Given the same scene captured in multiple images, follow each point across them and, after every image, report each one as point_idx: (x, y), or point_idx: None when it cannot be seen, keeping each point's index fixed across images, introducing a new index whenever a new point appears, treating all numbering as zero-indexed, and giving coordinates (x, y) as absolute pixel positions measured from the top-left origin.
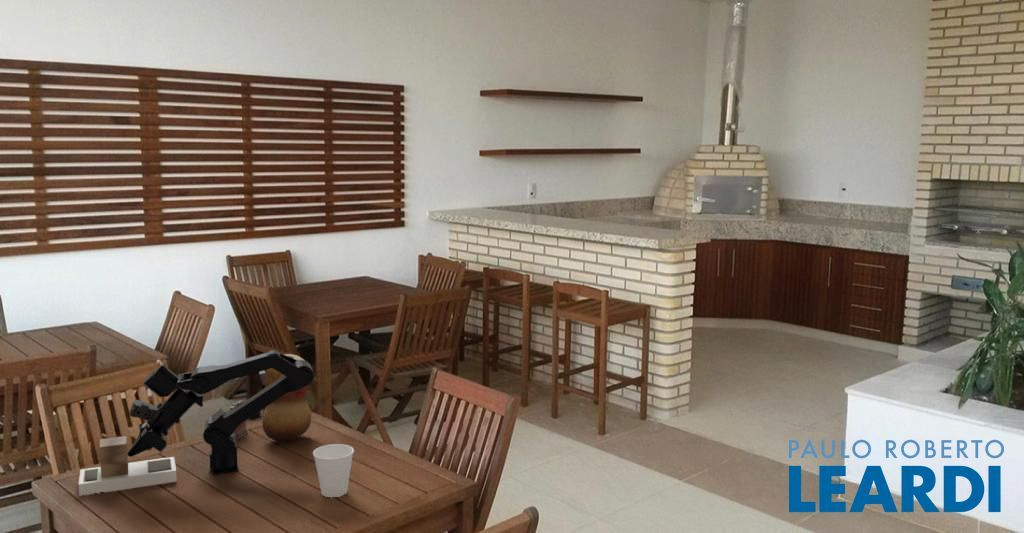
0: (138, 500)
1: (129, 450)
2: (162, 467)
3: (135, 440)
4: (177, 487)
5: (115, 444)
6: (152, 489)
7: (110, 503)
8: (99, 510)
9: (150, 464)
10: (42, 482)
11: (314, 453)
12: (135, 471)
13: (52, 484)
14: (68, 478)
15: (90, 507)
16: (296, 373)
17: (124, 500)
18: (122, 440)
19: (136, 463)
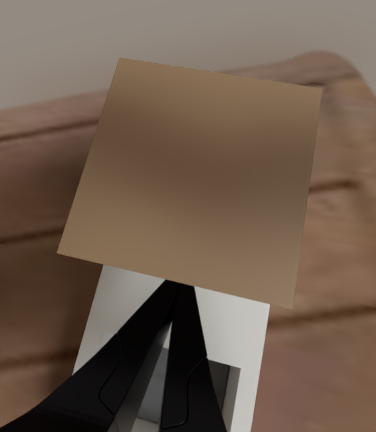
0: (14, 254)
1: (184, 289)
2: (223, 413)
3: (195, 365)
4: (27, 399)
5: (102, 169)
6: (69, 316)
7: (50, 181)
8: (24, 148)
9: (236, 374)
10: (331, 52)
11: None
12: (152, 289)
13: (299, 72)
14: (326, 113)
15: (61, 132)
16: None
17: (44, 219)
18: (174, 243)
19: (245, 317)
